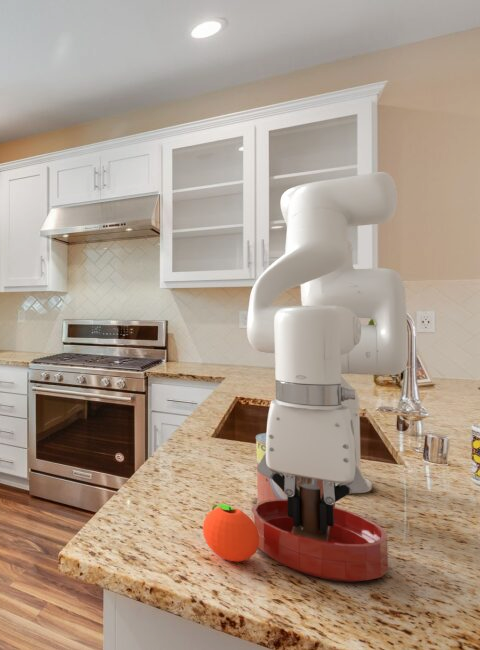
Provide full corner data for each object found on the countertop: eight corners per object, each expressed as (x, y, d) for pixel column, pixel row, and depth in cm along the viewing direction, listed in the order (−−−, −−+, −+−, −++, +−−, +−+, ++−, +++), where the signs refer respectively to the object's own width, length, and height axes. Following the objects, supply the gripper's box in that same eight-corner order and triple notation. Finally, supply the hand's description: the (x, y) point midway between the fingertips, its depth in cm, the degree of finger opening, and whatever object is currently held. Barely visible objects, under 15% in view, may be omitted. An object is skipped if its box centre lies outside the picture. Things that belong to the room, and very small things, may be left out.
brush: (296, 539, 70) (294, 477, 70) (330, 547, 67) (329, 483, 67) (291, 555, 65) (289, 489, 65) (327, 564, 62) (326, 496, 63)
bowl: (261, 522, 77) (261, 491, 77) (385, 551, 68) (385, 516, 68) (243, 560, 66) (242, 523, 66) (390, 601, 56) (389, 558, 56)
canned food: (253, 512, 81) (251, 442, 81) (260, 492, 90) (259, 429, 90) (336, 530, 74) (334, 453, 74) (335, 506, 83) (334, 438, 83)
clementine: (189, 544, 70) (188, 496, 71) (234, 541, 71) (233, 494, 71) (222, 573, 62) (221, 518, 63) (272, 570, 63) (271, 516, 63)
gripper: (383, 396, 64) (386, 533, 64) (247, 386, 74) (249, 504, 74) (384, 405, 58) (388, 555, 58) (237, 392, 69) (239, 520, 68)
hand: (310, 525), depth 66 cm, fingers closed on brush, 2 cm apart
